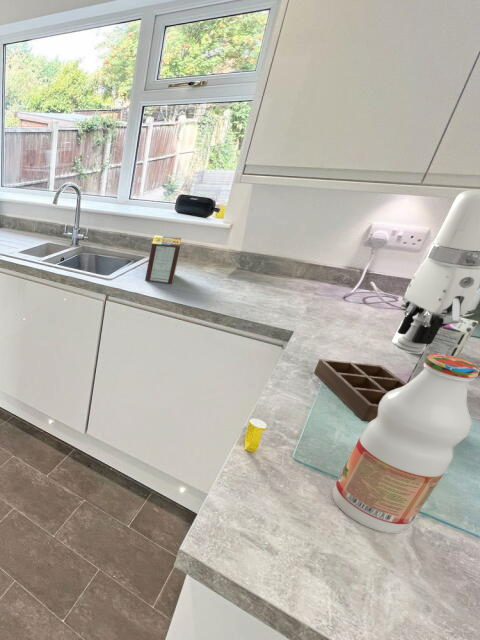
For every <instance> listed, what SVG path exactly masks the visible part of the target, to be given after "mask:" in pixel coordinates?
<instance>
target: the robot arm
mask: <svg viewBox="0 0 480 640" xmlns="http://www.w3.org/2000/svg"><path fill="white" fill-rule="evenodd" d="M479 287H480V189H468V190H464V191H462V192H460V193H459V194H458V195H456V197H455V200H454V201H453V202H452V205H451V207H450V209H449V211H448V213H447V215H446V217H445V220H444V222H443V223H442V225H441V226H440V230H439V232H438V233H437V236H436V238H435V240H434V242H433V243H432V246H431V248H430V250H429V252H428V254H427V256H426V258H425V259H424V260H423V262H422V263H421V264H420V266H419V267H418V268H417V270H416V272H415V273H414V275H413V277H412V279H411V281H410V282H409V284H408V286H407V289H406V290H405V294H403V295H402V299H403V301H404V304H405V305H404V306H405V311H404V313H403V316H404V317H403V320H402V321H403V322H402V321H401V322H402V324H401V323H400V324H401V326H400V325H399V326H400V328H399V327H398V328H399V330H398V329H397V330H398V333H399V334H406V333H407V331H408V330H409V329H410V327H411V323H413V322H414V319H413V316H415V315H417V313H420V314H421V313H424V314H425V313H426V311H428V313H427V315H426V318H425V321H424V323H423V325H419V327H418V329H417V331H416V333H415V335H414V337H413V339H412V342H414V343H420V344H431V343H432V342H433V340H434V338H435V336H436V334H437V332H438V330H439V329H440V328H443V327H444V326H446V325H448V324H455V323H459V322H460V317H464V316H465V315H466V314H467V313H468V311H469V309H470V307H471V305H472V303H473V301H474V299H475V297H476V294H477V292H478V290H479ZM435 316H439V318H436V319H434V317H435ZM433 319H434V320H433Z"/></svg>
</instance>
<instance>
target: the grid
mask: <svg viewBox="0 0 480 640" xmlns="http://www.w3.org/2000/svg"><path fill="white" fill-rule="evenodd" d="M313 374H314V375H315V376H316V377H317V378H318V379H319V380H320V381H321V382H322V383H323V384H324V385H325V386H326V387H327V388H328V389H329V390H330V391H331V392H332V393H333V394H334V395H335V396H336V397H337V398H338V399H339V400H340V401H341V402H342V403H343V404H344V405H345V406H346V407H347V408H348V409H349V410H350V411H351V412H352V413H353V414H354V415H355V416H356V417H357V418H358V419H359V420H360V421H361V422H364V423H365V422H366V423H369V422H371V421H372V420H373V419H375V418H376V417H377V415H378V405H379V402H380V401H381V399H382V398H383V396H384V395H385V394H387V393H388V392H390V391H392V390H394V389H397V388H400V387H403V386H404V385H406V384H407V382H405V381H403V380H402V379H401V378H400V377H398V376H397V375H396V374H394V373H393V372H391V371H390V370H389V369H387V368H386V367H385V366H384V365H382V364H381V365H380V364H374V363H373V364H372V363H362V362H353V361H352V362H351V361H342V360H333V359H332V360H331V359H322V358H319V360H318V362H317V364H316V366H315V369H314V371H313Z"/></svg>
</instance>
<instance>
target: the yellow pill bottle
mask: <svg viewBox="0 0 480 640" xmlns="http://www.w3.org/2000/svg"><path fill="white" fill-rule="evenodd" d="M267 427H268V425H267V423H266V422H264V421H263V420H262V419H259V418H251V419H249V421H248V426H247V429H246V434H245V437H244V450H245V451H248V452H251V453H256V452H257V450H258V448H259V446H260V443H261V439H262V434H263V431H266V430H267Z"/></svg>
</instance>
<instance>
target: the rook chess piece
mask: <svg viewBox="0 0 480 640" xmlns="http://www.w3.org/2000/svg"><path fill="white" fill-rule="evenodd" d="M425 318H426V316H425V315H424V313H421V314H420V313H417V315H415V316H413V319H414V322H413V323H411V327H410V329H409V330H408V331H407V333H406V334H405V335H403V336H402V337H400V338H398V342H396V343H395V344H394V345H395V346H396V347H397V348H398V349H399V350H403V351H404V352H406V351H408V352H414V353H419V352H422V351H423V347H425V344H420V343H414V342H412V339H413V337H414V335H415V333H416V331H417V329H418V327H419V325H423V323H424V321H425ZM408 352H407V353H408Z"/></svg>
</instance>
